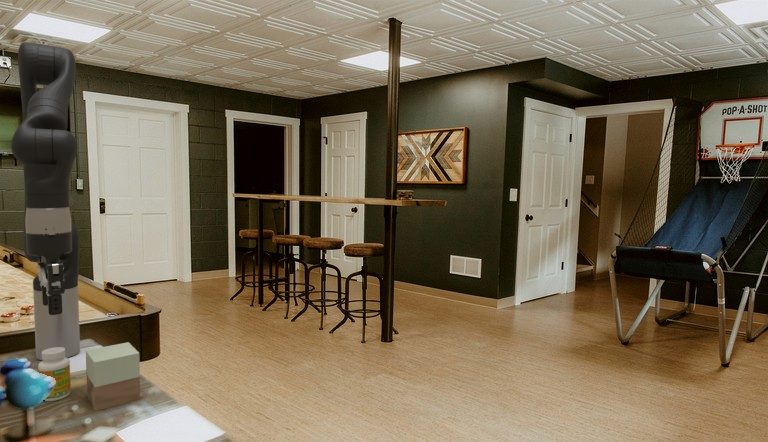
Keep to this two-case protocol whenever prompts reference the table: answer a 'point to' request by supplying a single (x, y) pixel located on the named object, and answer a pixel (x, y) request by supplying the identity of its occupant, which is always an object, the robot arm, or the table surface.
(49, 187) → the robot arm
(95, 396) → the tower base
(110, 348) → the tower top
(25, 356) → the table surface
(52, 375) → the supplement bottle
